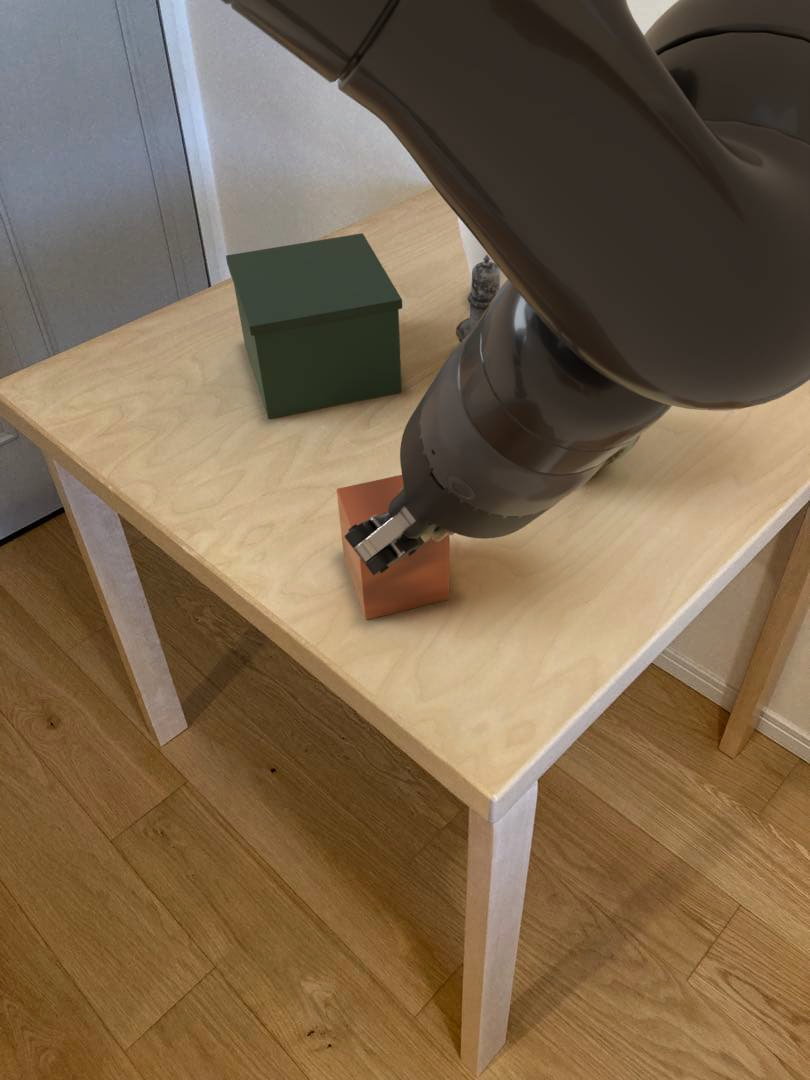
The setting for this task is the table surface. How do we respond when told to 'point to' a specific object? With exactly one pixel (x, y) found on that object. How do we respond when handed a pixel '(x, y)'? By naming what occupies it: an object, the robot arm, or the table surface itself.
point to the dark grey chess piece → (480, 294)
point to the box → (318, 323)
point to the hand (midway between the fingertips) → (413, 529)
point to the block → (403, 580)
